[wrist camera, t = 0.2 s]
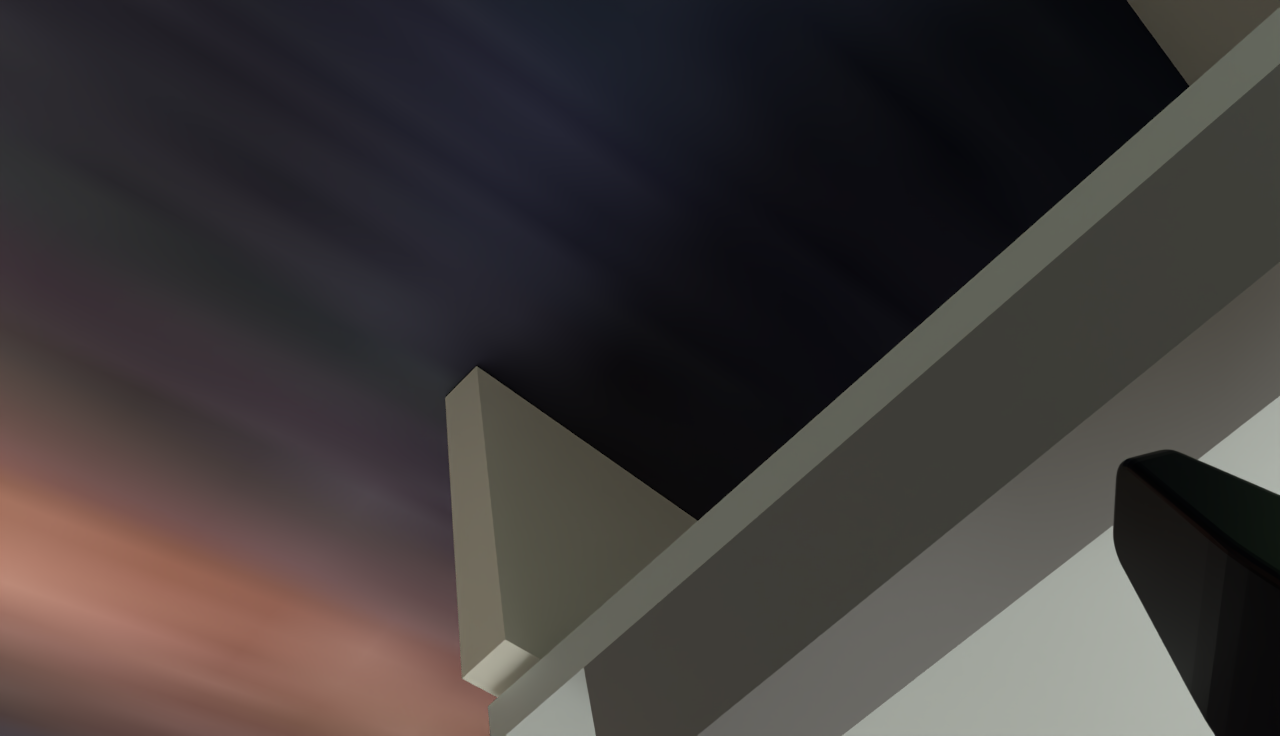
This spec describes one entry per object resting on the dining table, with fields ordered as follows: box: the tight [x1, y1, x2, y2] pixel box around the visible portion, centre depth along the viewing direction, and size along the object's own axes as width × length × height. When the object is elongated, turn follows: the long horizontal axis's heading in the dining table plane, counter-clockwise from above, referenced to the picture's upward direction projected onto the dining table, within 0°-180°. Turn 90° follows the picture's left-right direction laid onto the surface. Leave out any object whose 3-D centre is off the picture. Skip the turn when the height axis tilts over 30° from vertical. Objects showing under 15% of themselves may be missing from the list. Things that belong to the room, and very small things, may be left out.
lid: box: [488, 7, 1280, 736], centre depth 17 cm, size 11×16×3 cm
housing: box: [445, 0, 1280, 697], centre depth 25 cm, size 24×16×8 cm, turn 45°
